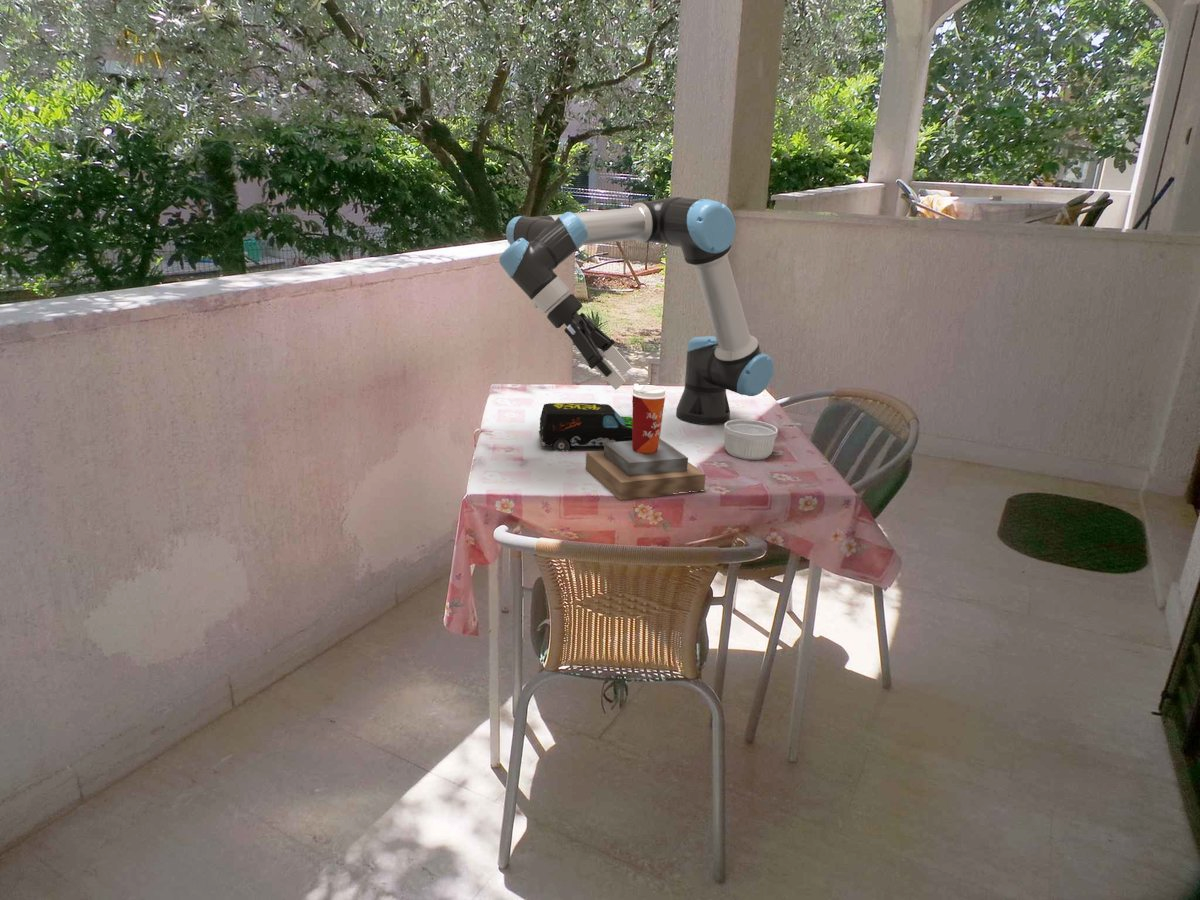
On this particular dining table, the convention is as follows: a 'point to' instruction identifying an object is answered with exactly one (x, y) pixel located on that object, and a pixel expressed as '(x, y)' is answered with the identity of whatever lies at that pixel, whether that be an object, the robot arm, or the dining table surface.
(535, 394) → the dining table surface
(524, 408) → the dining table surface
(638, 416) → the paper cup
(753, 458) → the ramekin
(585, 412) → the toy van
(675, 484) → the two-tone square platform
